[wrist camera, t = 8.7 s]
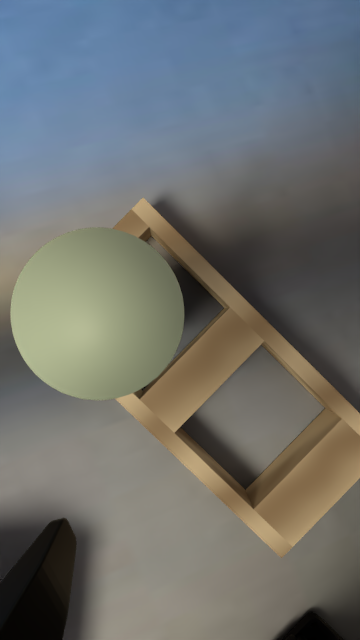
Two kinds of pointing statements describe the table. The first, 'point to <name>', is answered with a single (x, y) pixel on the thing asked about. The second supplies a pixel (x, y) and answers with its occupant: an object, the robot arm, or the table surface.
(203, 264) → the wooden ladder frame
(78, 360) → the green tapered capsule
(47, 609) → the robot arm
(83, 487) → the table surface
